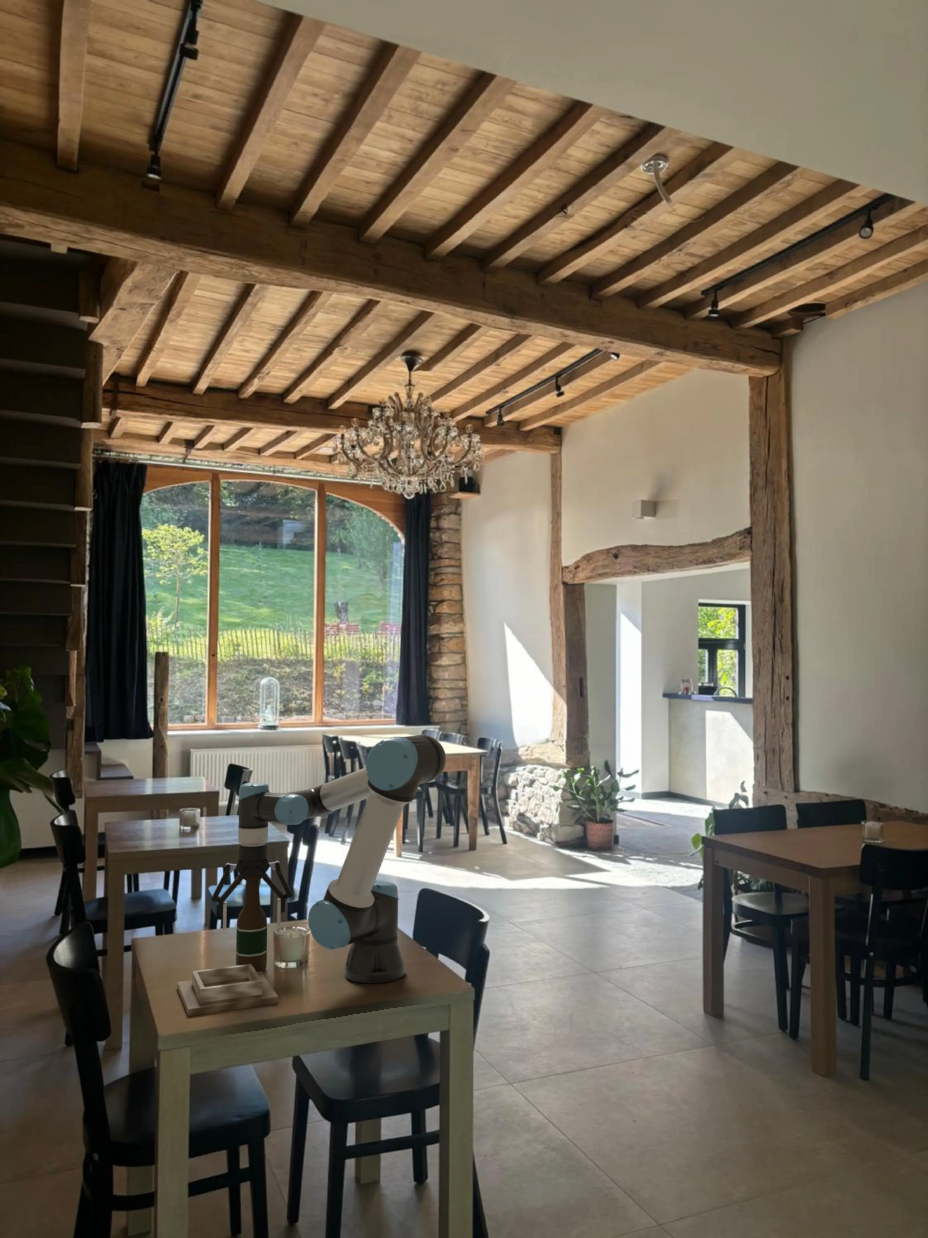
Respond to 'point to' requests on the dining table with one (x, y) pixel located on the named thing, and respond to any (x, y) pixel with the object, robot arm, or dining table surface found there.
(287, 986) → the dining table surface
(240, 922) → the beer bottle
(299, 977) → the dining table surface
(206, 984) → the rim board
